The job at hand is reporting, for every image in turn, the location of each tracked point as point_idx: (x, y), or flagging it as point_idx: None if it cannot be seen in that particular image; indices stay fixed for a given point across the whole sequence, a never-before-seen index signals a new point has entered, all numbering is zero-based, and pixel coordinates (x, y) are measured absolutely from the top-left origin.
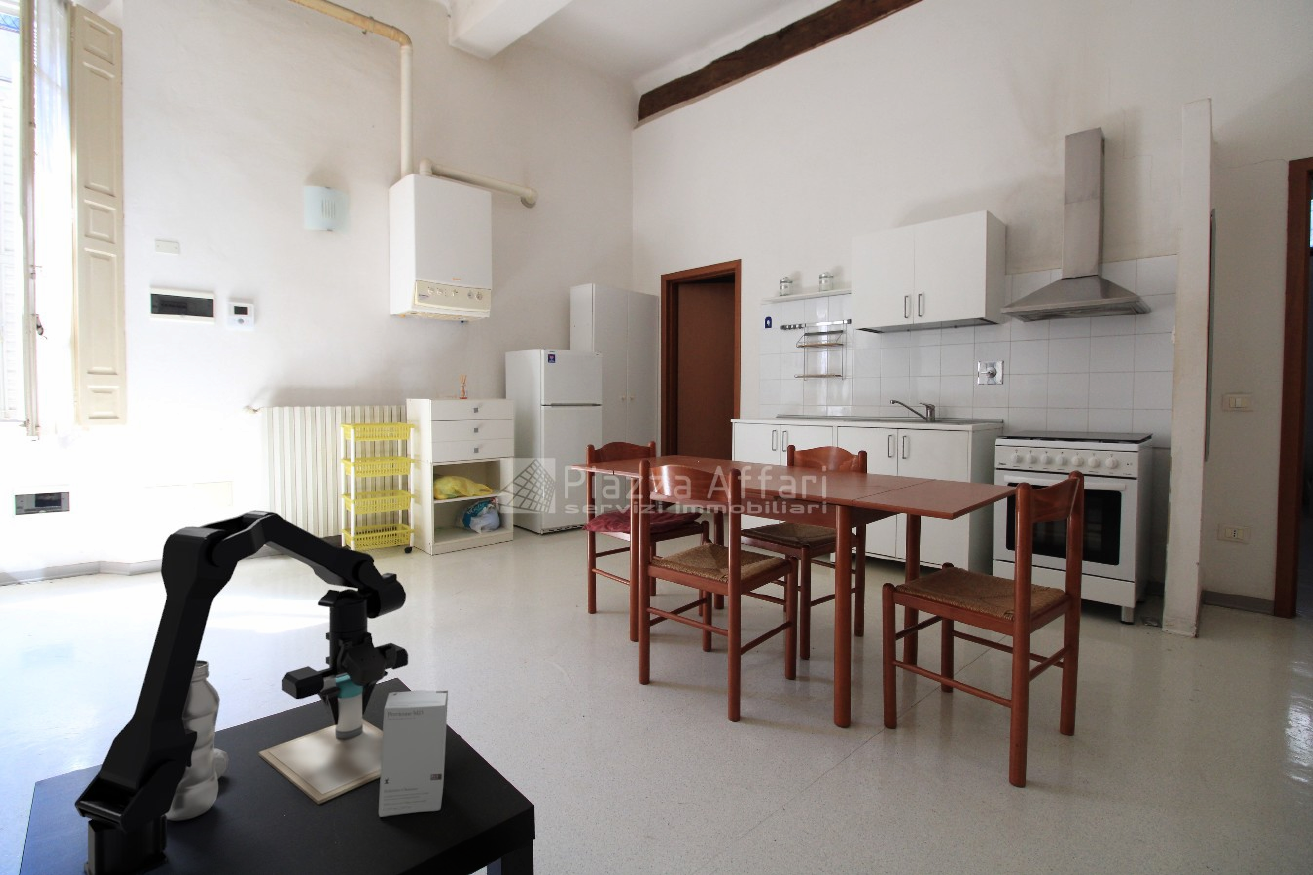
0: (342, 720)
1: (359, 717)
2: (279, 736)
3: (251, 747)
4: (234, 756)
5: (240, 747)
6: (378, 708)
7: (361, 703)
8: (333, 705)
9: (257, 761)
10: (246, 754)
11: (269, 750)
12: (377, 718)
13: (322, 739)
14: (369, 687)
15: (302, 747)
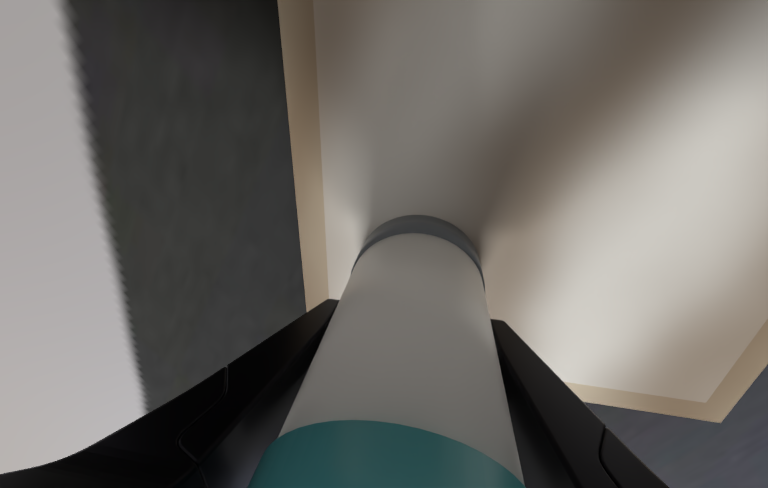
0: (483, 308)
1: (380, 266)
2: None
3: (664, 460)
4: (748, 458)
5: (678, 481)
6: (229, 355)
7: (331, 338)
8: (610, 453)
9: (759, 380)
10: (718, 441)
11: (692, 403)
12: (260, 303)
13: (517, 317)
14: (178, 446)
15: (617, 326)
